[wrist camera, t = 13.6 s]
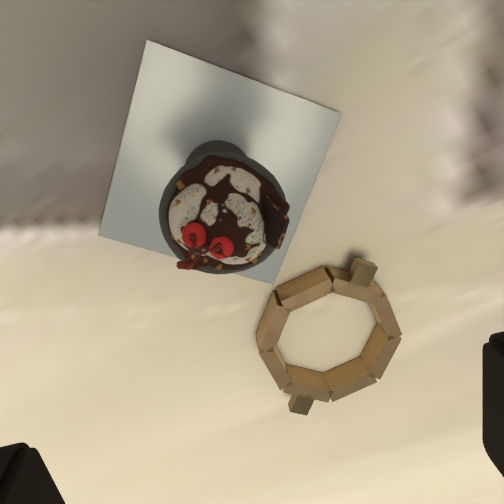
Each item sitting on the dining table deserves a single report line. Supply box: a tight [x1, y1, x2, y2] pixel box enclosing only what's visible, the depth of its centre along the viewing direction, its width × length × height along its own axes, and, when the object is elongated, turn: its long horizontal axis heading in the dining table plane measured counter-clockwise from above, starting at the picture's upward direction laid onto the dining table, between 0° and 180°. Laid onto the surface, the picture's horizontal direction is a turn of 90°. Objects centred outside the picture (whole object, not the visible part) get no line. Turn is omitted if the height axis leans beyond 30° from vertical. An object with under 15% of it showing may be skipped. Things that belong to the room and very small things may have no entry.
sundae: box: [159, 140, 290, 274], centre depth 26 cm, size 7×7×15 cm
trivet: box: [98, 40, 342, 284], centre depth 33 cm, size 14×14×1 cm
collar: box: [256, 257, 402, 415], centre depth 38 cm, size 15×11×2 cm
